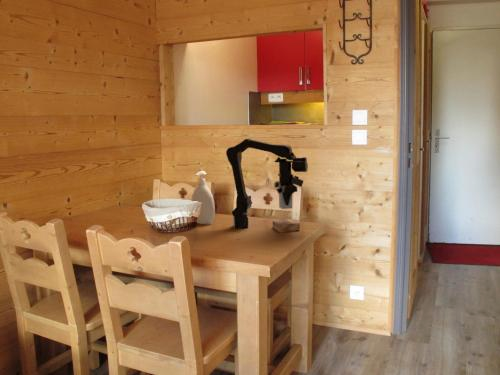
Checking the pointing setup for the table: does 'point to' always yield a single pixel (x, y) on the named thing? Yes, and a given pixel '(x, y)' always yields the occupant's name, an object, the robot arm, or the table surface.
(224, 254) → the table surface
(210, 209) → the soap bottle
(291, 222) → the walnut block
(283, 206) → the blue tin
